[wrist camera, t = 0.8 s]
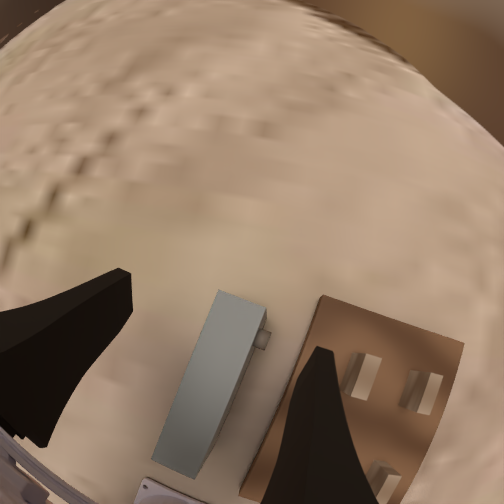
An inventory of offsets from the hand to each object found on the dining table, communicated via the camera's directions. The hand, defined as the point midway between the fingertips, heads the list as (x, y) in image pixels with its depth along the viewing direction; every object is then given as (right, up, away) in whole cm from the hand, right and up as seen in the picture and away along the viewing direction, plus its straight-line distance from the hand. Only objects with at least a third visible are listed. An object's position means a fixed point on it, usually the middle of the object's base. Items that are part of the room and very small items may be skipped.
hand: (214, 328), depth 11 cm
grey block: (-1, -7, +12) cm, 14 cm away
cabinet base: (+10, -11, +10) cm, 18 cm away
